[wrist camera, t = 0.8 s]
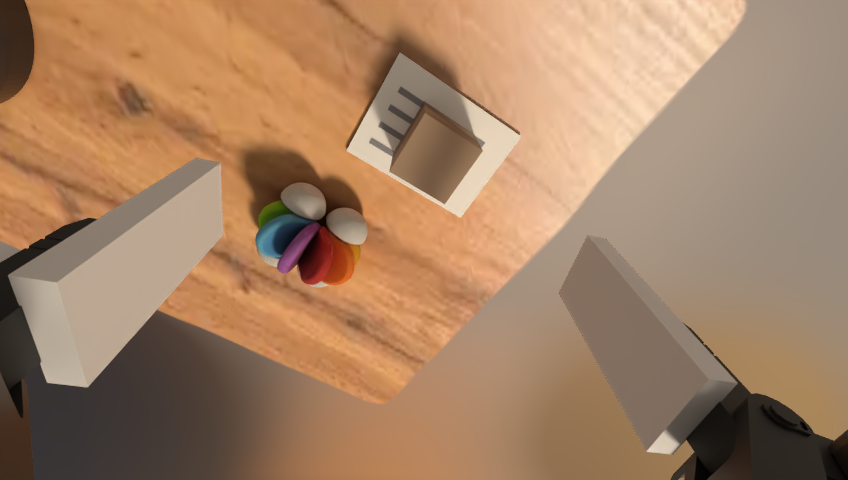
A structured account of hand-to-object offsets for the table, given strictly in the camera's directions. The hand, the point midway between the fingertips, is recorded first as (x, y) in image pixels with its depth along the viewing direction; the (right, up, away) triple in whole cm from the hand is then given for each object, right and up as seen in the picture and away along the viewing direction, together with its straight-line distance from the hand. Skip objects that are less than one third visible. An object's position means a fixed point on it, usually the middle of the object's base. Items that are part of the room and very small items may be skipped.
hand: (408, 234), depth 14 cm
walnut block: (+1, +8, +19) cm, 20 cm away
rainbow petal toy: (-10, +1, +23) cm, 25 cm away
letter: (+1, +8, +19) cm, 21 cm away
